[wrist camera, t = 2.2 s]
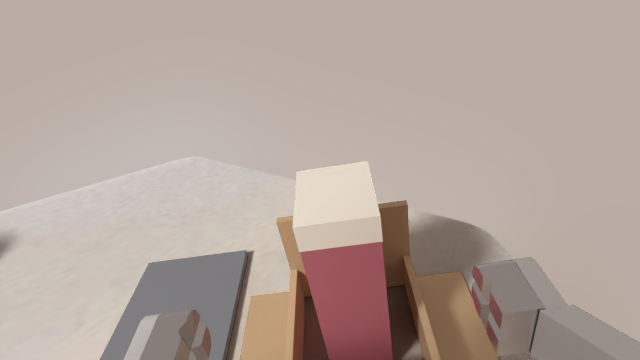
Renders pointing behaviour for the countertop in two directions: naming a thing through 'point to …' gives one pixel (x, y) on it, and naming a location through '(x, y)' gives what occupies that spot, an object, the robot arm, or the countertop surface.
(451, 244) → the countertop surface
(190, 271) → the charcoal mat
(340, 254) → the burgundy box
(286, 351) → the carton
